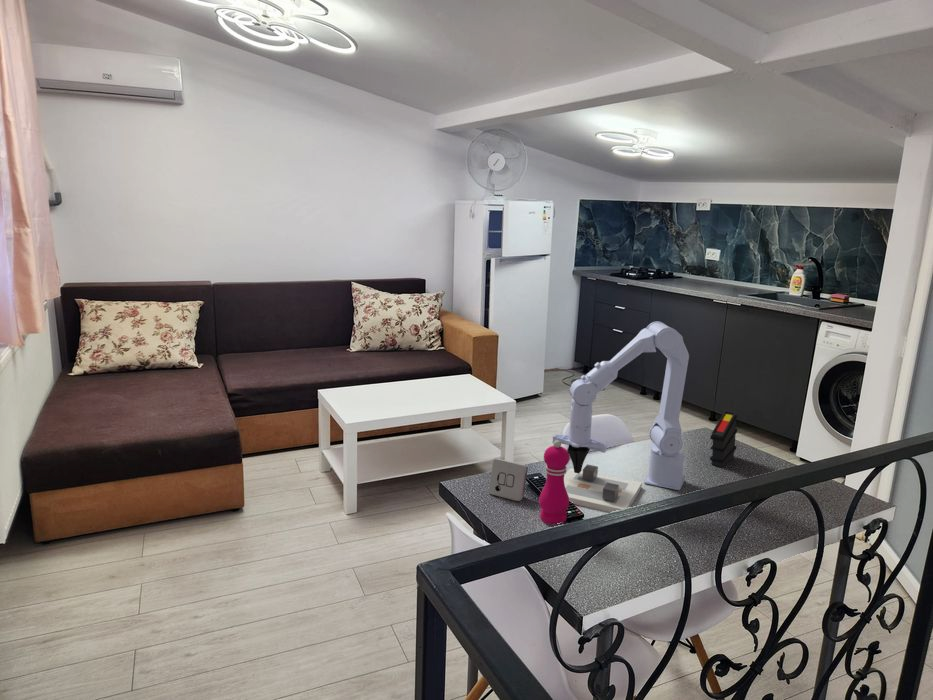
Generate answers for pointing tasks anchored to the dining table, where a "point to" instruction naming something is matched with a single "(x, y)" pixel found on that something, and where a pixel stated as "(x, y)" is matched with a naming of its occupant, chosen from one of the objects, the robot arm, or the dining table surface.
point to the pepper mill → (554, 485)
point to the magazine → (724, 439)
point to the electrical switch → (508, 479)
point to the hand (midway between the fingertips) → (577, 471)
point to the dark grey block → (590, 472)
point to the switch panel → (599, 491)
